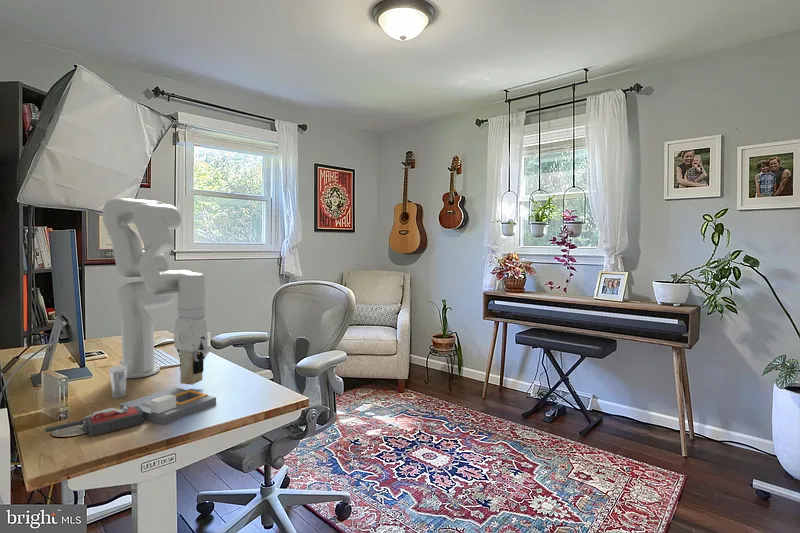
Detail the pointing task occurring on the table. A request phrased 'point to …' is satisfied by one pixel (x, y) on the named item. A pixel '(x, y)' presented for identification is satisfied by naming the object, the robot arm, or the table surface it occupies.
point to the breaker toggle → (163, 403)
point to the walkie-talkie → (106, 420)
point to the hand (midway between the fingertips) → (191, 370)
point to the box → (188, 369)
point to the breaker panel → (192, 405)
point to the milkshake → (118, 380)
